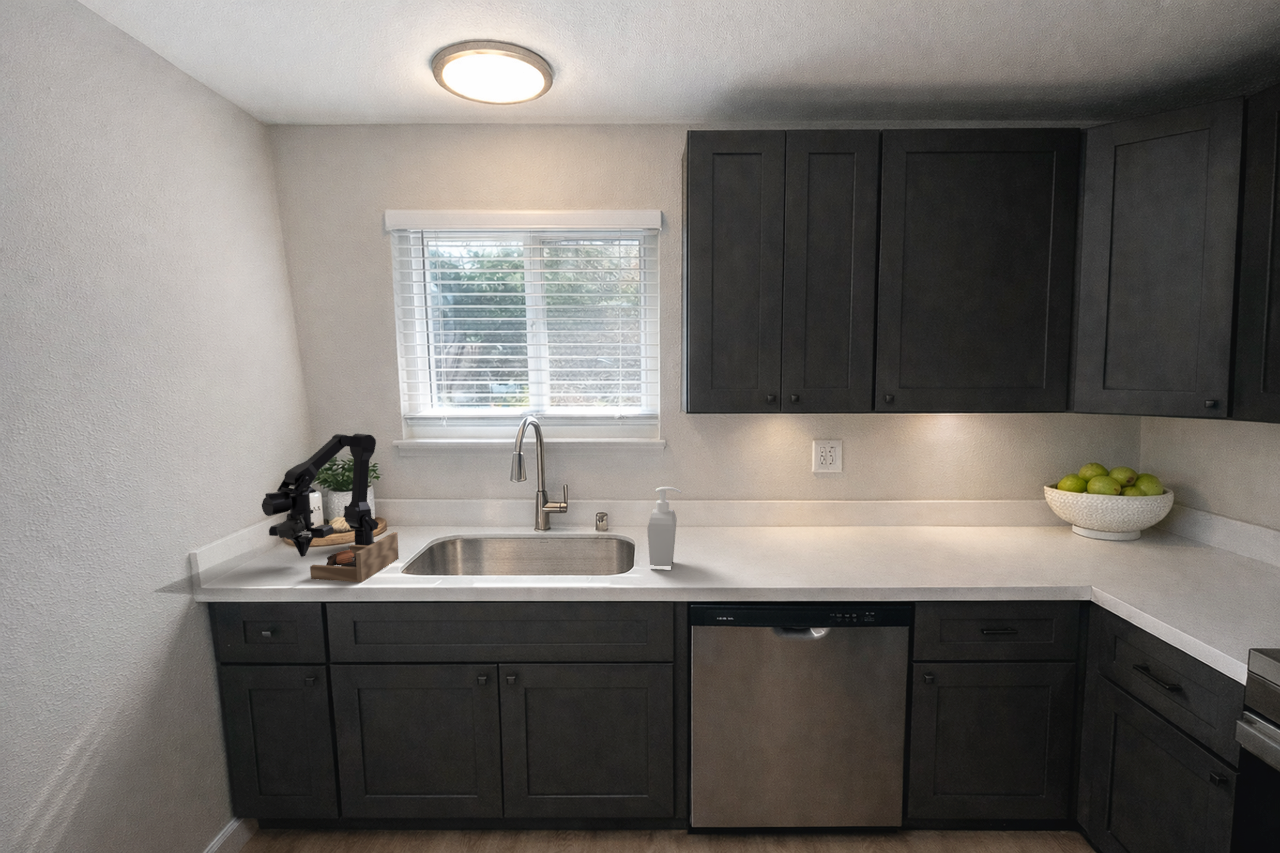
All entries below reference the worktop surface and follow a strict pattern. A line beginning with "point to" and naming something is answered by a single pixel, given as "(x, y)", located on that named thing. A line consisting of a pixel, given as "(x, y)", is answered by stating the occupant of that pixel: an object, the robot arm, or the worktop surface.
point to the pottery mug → (342, 559)
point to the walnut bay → (361, 561)
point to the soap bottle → (662, 531)
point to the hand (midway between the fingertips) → (303, 556)
